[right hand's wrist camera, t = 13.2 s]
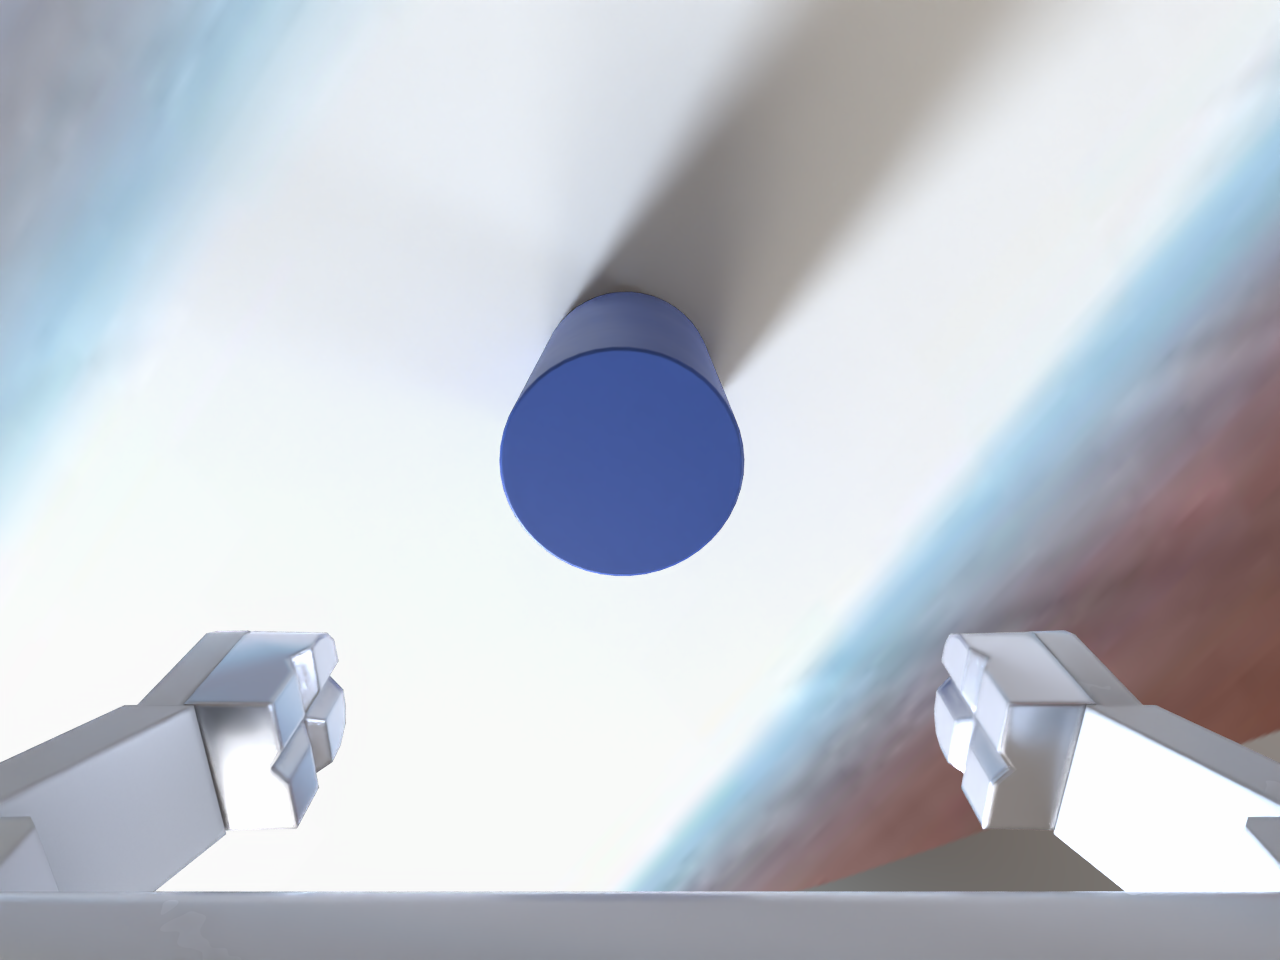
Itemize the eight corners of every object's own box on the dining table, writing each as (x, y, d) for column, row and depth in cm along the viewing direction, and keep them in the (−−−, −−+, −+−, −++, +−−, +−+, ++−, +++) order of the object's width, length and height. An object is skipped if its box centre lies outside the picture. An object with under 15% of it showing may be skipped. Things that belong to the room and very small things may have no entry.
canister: (737, 414, 26) (782, 519, 18) (590, 482, 27) (571, 612, 19) (666, 260, 24) (680, 301, 16) (511, 339, 25) (452, 415, 17)
